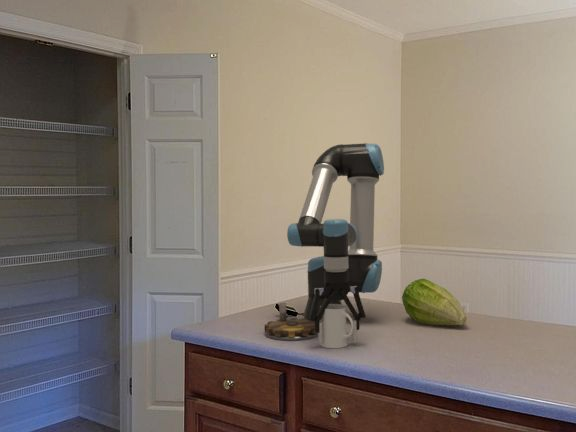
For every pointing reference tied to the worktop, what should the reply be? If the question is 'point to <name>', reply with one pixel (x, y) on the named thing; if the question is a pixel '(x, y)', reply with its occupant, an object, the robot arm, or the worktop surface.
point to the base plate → (287, 338)
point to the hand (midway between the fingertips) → (337, 341)
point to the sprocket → (289, 325)
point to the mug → (335, 326)
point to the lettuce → (432, 304)
